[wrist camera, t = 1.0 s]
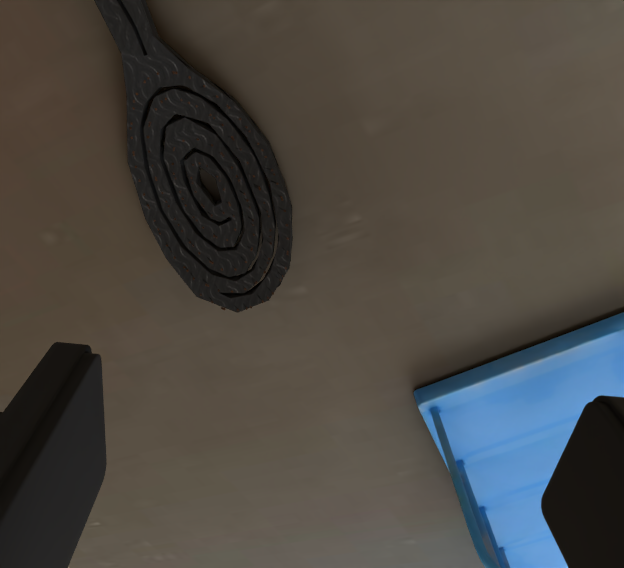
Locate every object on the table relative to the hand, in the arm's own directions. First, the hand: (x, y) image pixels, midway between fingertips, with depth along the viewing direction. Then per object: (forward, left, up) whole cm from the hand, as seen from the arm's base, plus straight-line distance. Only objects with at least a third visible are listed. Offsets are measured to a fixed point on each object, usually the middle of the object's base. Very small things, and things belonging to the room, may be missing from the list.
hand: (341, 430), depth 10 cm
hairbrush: (-2, -8, -23) cm, 24 cm away
